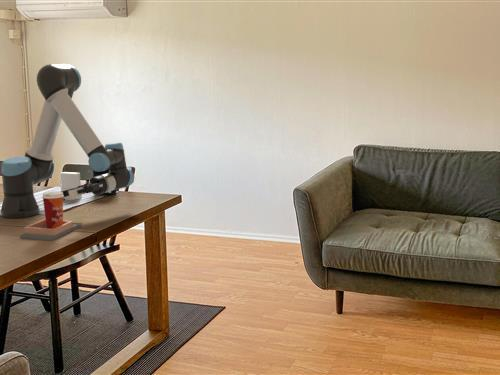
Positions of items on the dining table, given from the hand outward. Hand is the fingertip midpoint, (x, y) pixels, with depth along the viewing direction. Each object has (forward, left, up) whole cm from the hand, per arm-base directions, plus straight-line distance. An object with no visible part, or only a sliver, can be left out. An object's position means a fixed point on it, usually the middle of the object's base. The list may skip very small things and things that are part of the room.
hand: (59, 196), depth 236 cm
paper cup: (+3, -9, -11) cm, 15 cm away
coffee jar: (-13, +58, -12) cm, 61 cm away
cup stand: (+1, -8, -12) cm, 14 cm away
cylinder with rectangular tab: (-24, +46, -12) cm, 53 cm away
